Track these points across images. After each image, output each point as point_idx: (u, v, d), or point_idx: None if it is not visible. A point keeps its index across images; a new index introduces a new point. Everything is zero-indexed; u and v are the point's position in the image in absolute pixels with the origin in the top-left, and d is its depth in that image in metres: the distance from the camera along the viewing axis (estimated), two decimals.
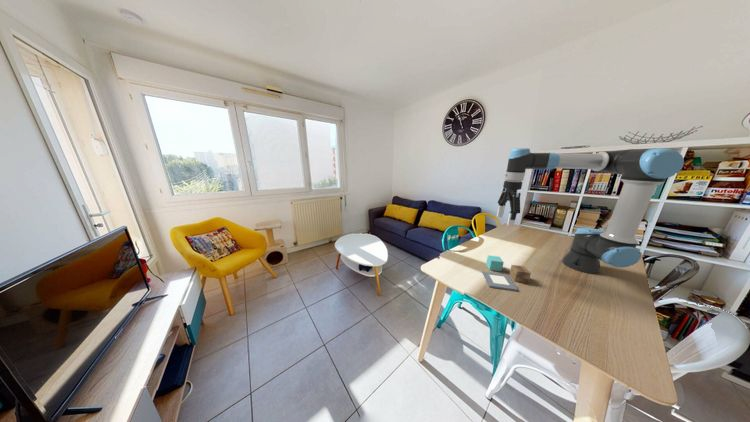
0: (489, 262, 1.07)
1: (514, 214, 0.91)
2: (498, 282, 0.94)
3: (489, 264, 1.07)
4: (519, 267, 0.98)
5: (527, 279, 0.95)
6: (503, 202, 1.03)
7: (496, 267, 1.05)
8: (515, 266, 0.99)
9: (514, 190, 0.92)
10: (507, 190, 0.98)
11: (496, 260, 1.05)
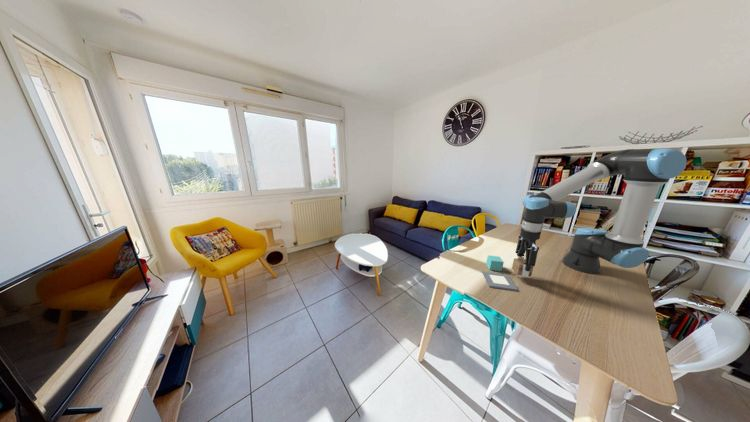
0: (489, 262, 1.07)
1: (528, 266, 0.91)
2: (498, 282, 0.94)
3: (489, 264, 1.07)
4: (522, 260, 0.97)
5: (530, 272, 0.94)
6: (522, 252, 0.98)
7: (496, 267, 1.05)
8: (518, 259, 0.98)
9: (532, 240, 0.89)
10: None
11: (496, 260, 1.05)
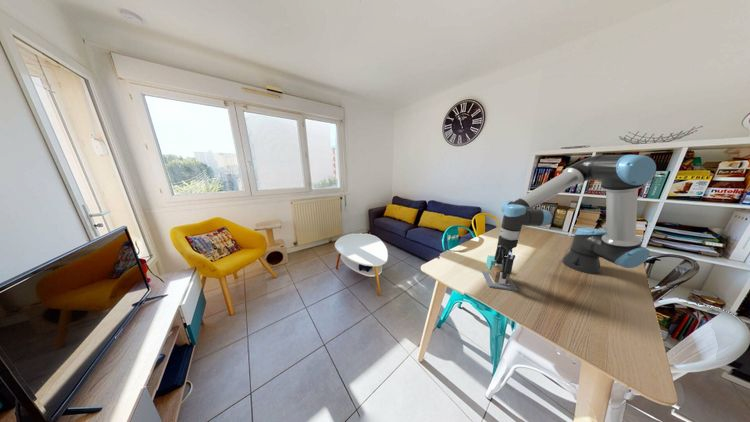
0: (489, 262, 1.07)
1: (505, 274, 0.90)
2: None
3: (489, 264, 1.07)
4: (499, 267, 0.96)
5: (507, 280, 0.92)
6: (500, 259, 0.96)
7: None
8: (495, 266, 0.96)
9: (509, 248, 0.87)
10: None
11: None
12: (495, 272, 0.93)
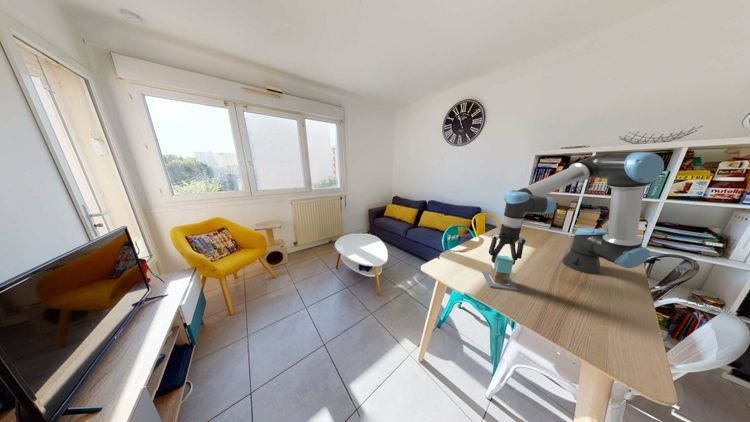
0: None
1: (492, 256, 0.94)
2: None
3: (496, 265, 0.93)
4: None
5: (507, 280, 0.92)
6: (511, 252, 0.91)
7: (504, 268, 0.91)
8: None
9: (500, 232, 0.90)
10: None
11: (504, 260, 0.91)
12: (495, 272, 0.93)
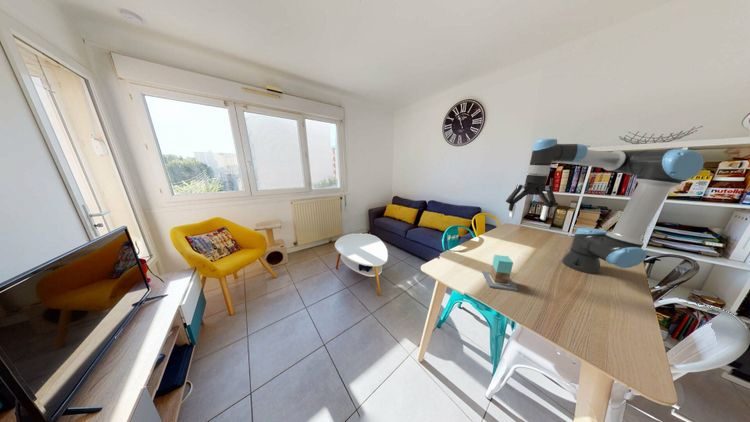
0: (496, 262, 0.93)
1: None
2: None
3: (496, 265, 0.93)
4: None
5: (507, 280, 0.92)
6: (544, 201, 0.90)
7: (504, 268, 0.91)
8: None
9: (525, 183, 0.90)
10: None
11: (504, 260, 0.91)
12: (495, 272, 0.93)
